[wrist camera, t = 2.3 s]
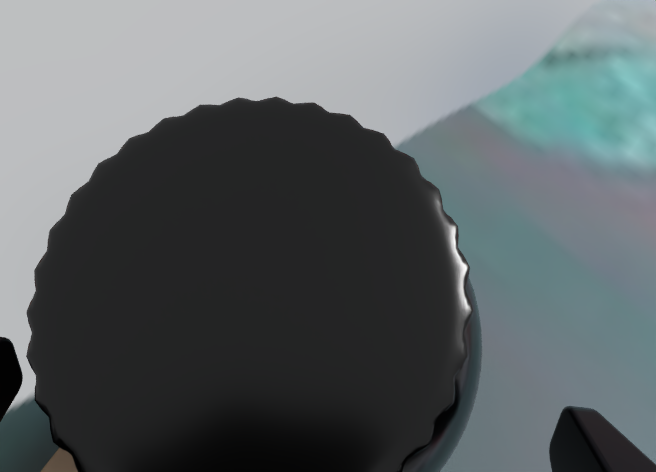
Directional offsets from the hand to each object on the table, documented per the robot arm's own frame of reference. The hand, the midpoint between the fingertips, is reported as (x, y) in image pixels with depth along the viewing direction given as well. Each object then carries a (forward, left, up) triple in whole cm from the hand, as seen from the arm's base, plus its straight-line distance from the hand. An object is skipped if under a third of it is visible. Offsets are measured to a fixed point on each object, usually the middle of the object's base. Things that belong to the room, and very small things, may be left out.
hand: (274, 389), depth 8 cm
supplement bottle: (+1, +1, -9) cm, 9 cm away
